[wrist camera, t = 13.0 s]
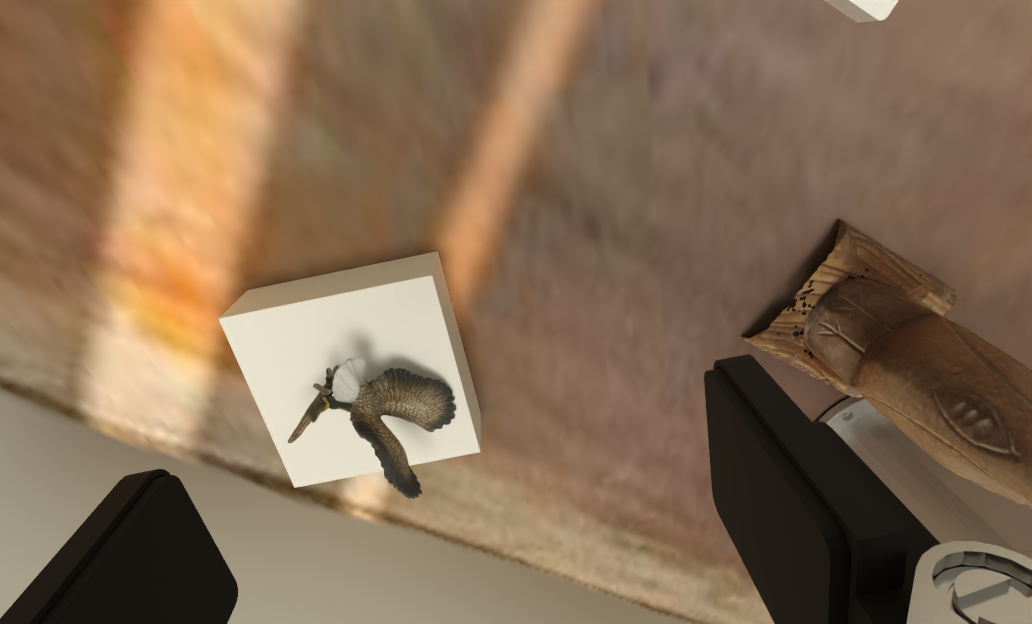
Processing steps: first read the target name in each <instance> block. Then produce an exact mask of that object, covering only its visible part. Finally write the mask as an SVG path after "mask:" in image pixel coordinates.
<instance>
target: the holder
mask: <svg viewBox="0 0 1032 624" xmlns="http://www.w3.org/2000/svg"><path fill="white" fill-rule="evenodd" d="M824 1H825V2H827V3H828V4H830V5H831V6H833V7H834V8H836V9H837V10H839V11H840V12H842V13H843V14H845V15H846V16H848V17H849V18H851V19H852V20H854V21H855V22H858V23H860V22H871V21H881V20H884V19H886V18H887V17H888V15H889V14H890V12H891V11H892V9H893V8H894V6H895V5H896V4H897V2H898V1H899V0H824Z"/></svg>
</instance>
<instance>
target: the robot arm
mask: <svg viewBox="0 0 1032 624" xmlns="http://www.w3.org/2000/svg"><path fill="white" fill-rule="evenodd" d="M704 383H705V397H706V410H707V424H708V438H709V452H710V466H711V480H712V492H713V498H714V502H715V506H716V509H717V511H718V514H719V516H720V518H721V520H722V522H723V524H724V526H725V527H726V529H727V531H728V533H729V535H730V537H731V539H732V541H733V543H734V545H735V547H736V549H737V551H738V553H739V555H740V557H741V559H742V561H743V563H744V565H745V566H746V568H747V570H748V572H749V574H750V576H751V578H752V580H753V582H754V584H755V586H756V588H757V590H758V592H759V594H760V596H761V598H762V600H763V602H764V604H765V605H766V607H767V609H768V611H769V613H770V615H771V617H772V619H773V621H774V623H775V624H1032V509H1031V508H1030V507H1029V506H1027V505H1026V504H1018V503H1016V502H1014V501H1013V500H1011V499H1008V498H1006V497H1003V496H1001V495H999V494H997V493H994V492H991V491H989V490H987V489H985V488H983V487H982V486H980V485H978V484H976V483H974V482H973V481H971V480H968V479H966V478H964V477H961V476H959V475H957V474H955V473H954V472H952V471H951V470H949V469H947V468H945V467H944V466H943V465H942V464H940V463H939V462H938V461H936V460H935V459H933V458H932V457H931V456H930V455H929V454H928V453H926V452H925V451H923V450H922V449H921V448H920V447H919V446H918V445H917V444H916V443H915V442H914V441H912V440H911V439H910V438H909V437H908V436H906V434H904V433H903V432H902V431H901V430H900V429H899V428H898V427H897V426H896V425H895V424H893V423H892V422H891V421H890V420H889V419H888V418H886V417H885V416H884V415H882V414H881V413H880V412H879V411H878V410H877V409H876V408H875V407H874V406H873V405H872V404H870V403H869V402H868V401H867V400H866V399H865V398H864V397H859V398H856V397H850V398H848V399H846V400H844V401H842V402H840V403H839V404H837V405H836V406H835V407H833V408H832V409H830V410H829V411H828V412H827V413H826V414H825V415H823V416H822V417H821V418H820V419H819V420H818V421H815V422H811V421H810V420H809V419H808V417H807V416H806V415H805V414H804V413H803V412H802V411H801V410H800V408H799V407H798V406H797V405H796V404H795V403H794V402H793V401H792V400H791V398H790V397H789V396H788V395H787V394H786V393H785V392H784V391H783V390H782V388H781V387H780V386H779V385H778V384H777V383H776V382H775V381H774V380H773V378H772V377H771V376H770V375H769V374H768V373H767V372H766V371H765V370H764V368H763V367H762V366H761V365H760V364H759V363H758V362H757V361H756V360H755V358H754V357H752V356H751V355H748V354H747V355H742V356H737V357H731V358H726V359H721V360H716V361H715V363H714V370H709V371H706V372H705V375H704ZM237 597H238V588H237V583H236V580H235V578H234V577H233V575H232V573H231V571H230V569H229V567H228V566H227V564H226V562H225V560H224V559H223V557H222V555H221V553H220V551H219V549H218V548H217V546H216V544H215V542H214V540H213V539H212V537H211V535H210V533H209V531H208V530H207V528H206V526H205V524H204V522H203V520H202V518H201V517H200V515H199V513H198V511H197V509H196V508H195V506H194V504H193V502H192V500H191V499H190V497H189V495H188V493H187V491H186V490H185V488H184V486H183V484H182V482H181V481H180V479H179V478H178V477H176V476H174V475H170V474H169V472H167V471H166V470H163V469H157V470H152V471H147V472H142V473H136V474H131V475H128V476H125V477H124V478H123V479H122V480H120V481H119V482H118V484H117V485H116V486H115V487H114V488H113V489H112V490H111V492H110V493H109V494H108V495H107V496H106V497H105V498H104V500H103V501H102V502H101V503H100V504H99V505H98V507H97V508H96V509H95V510H94V511H93V512H92V513H91V515H90V516H89V517H88V518H87V519H86V520H85V522H84V523H83V524H82V525H81V526H80V527H79V528H78V530H77V531H76V532H75V533H74V534H73V536H72V537H71V538H70V539H69V540H68V541H67V542H66V544H65V545H64V546H63V547H62V548H61V549H60V550H59V551H58V553H57V554H56V555H55V556H54V557H53V558H52V560H51V561H50V562H49V563H48V564H47V566H46V567H45V568H44V569H43V570H42V571H41V572H40V573H39V575H38V576H37V577H36V578H35V579H34V580H33V582H32V583H31V584H30V585H29V586H28V587H27V588H26V590H25V591H24V592H23V593H22V594H21V595H20V597H19V598H18V599H17V600H16V601H15V602H14V603H13V605H12V606H11V607H10V608H9V609H8V610H7V612H6V613H5V614H4V615H3V616H2V617H1V618H0V624H227V622H228V620H229V618H230V616H231V614H232V611H233V609H234V607H235V605H236V602H237Z"/></svg>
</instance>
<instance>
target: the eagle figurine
mask: <svg viewBox="0 0 1032 624" xmlns="http://www.w3.org/2000/svg"><path fill="white" fill-rule="evenodd" d="M326 374H327V376H326V384H325V385H324V386H321V385H320V384H317V383H315V384H314V385H313V387H314V388H315V389H317V390H318V391H319V393H318V395H317V396H316V398H315V399H314V401H313V402H312V403H311V404H310V406H309V407H308V409H307V410H306V412H305V414H304V415H303V417H302V419H301V421H300V422H299V424H298V426H297V427H296V429H295V430H294V431H293V433H292V435H291V436H290V438H289V440H288V443H293V442H294V441H295V440H296V439H297V438H298V437H300V436H301V434H302V433H303V432H304V430H305V429H306V427H307V426H308V425H309V424H310V423H311V422H313V423H314V422H315V421H316V420H317V419H318V417H319V415H320V413H322V412H324V411H325V410H327V409H328V408H330V409H335V410H336V409H341V410H345V411H347V412H349V413H351V414H350V416H351V417H350V421H351V422H353V423H352V425H353V427H354V429H355V431H356V432H357V433H358V435H359V437H360V438H362V439H366V441H368V442H370V443H371V446H372V447H373V448H374V450H375V455H376V456H377V457H378V459H379V460H380V462H381V467H382V468H383V469H384V476H385V478H386V479H387V480H388V482H389V483H390V484H393V486H394V488H397V490H398V491H399V492H401V493H402V494H403V495H405V496H406V497H407V498H409V499H410V498H413V499H414V498H415V497H417V498H418V497H419V495H418V494H422V491H421V489H420V484H419V482H418V481H417V480H416V479H417V477H416V475H415V474H414V473H413V471H412V470H411V468H410V467H409V464H408V459H407V455H406V452H405V450H404V448H403V446H402V445H401V443H400V442H399V440H398V439H397V438H396V436H395V435H394V434H393V433H392V431H391V430H390V429H389V428H388V427H387V426H386V424H385V423H384V422H383V421H382V419H381V416H382V415H388V416H393V417H398V418H401V419H404V420H406V421H408V422H411V423H415V424H416V425H418V426H420V427H421V428H423V429H424V430H426V431H428V432H434V430H435V429H442V427H443V425H449V424H450V423H451V420H452V419H454V418H455V414H454V411H456V406H455V404H453V403H452V402H453V401H454V400H455V397H453V396H452V394H453V392H452V390H451V389H450V388H449V387H448V386H446V384H445V383H443V382H441V381H440V380H435V381H434V380H433V379H431V378H429V377H426V378H423V376H419V375H417V374H412V373H411V371H407V370H406V369H405V368H404V369H401V368H397V369H394V368H389V370H385V371H384V373H383V374H382V375H379V376H378V377H377V379H376V380H374V379H373V380H371V381H370V382H369V383H368V382H367V377H366V361H365V359H363V358H354V359H351V358H350V359H347V360H346V361H345V362H344V363H343V364H341V365H340V366H339V367H338V365H337V366H335V367H334V369H333V372H332V371H331V369H330V368H327V369H326ZM332 394H333V396H332Z"/></svg>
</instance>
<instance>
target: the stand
mask: <svg viewBox="0 0 1032 624" xmlns="http://www.w3.org/2000/svg"><path fill="white" fill-rule="evenodd" d="M219 321H220V323H221V326H222V328H223V330H224V332H225V334H226V337H227V339H228V341H229V343H230V345H231V348H232V350H233V352H234V354H235V357H236V359H237V361H238V363H239V365H240V368H241V370H242V372H243V374H244V377H245V379H246V381H247V383H248V385H249V388H250V390H251V392H252V394H253V397H254V399H255V401H256V403H257V405H258V408H259V410H260V412H261V414H262V416H263V419H264V421H265V423H266V425H267V428H268V430H269V432H270V434H271V436H272V439H273V441H274V443H275V445H276V448H277V450H278V452H279V454H280V456H281V459H282V461H283V463H284V465H285V467H286V470H287V472H288V474H289V476H290V479H291V481H292V483H293V485H294V487H295V488H296V487H301V486H306V485H311V484H316V483H322V482H327V481H332V480H337V479H342V478H348V477H353V476H358V475H363V474H369V473H374V472H379V471H384V469H383V468H382V467H381V462H380V460H379V459H378V457H377V456H376V455H375V450H374V448H373V447H372V446H371V443H370V442H368V441H366V439H362V438H360V437H359V435H358V433H357V432H356V431H355V429H354V427H353V425H352V423H353V422H351V421H350V417H351V416H350V414H351V413H349V412H347V411H345V410H341V409H336V410H335V409H330V408H328V409H327V410H325V411H324V412H322V413H320V415H319V417H318V419H317V420H316V421H315V422H314V423H313V422H311V423H310V424H309V425H308V426H307V427H306V429H305V430H304V432H303V433H302V434H301V436H300V437H298V438H297V439H296V440H295V441H294V442H293V443H288V440H289V438H290V436H291V435H292V433H293V431H294V430H295V429H296V427H297V426H298V424H299V422H300V421H301V419H302V417H303V415H304V414H305V412H306V410H307V409H308V407H309V406H310V404H311V403H312V402H313V401H314V399H315V398H316V396H317V395H318V393H319V391H318V390H317V389H315V388H314V387H313V385H314V384H315V383H317V384H320V385H321V386H324V385H325V384H326V376H327V374H326V369H327V368H330V369H331V371H332V372H333V369H334V367H335V366H337V365H338V367H339V366H340V365H341V364H343V363H344V362H345V361H346V360H347V359H350V358H351V359H354V358H363V359H365V361H366V377H367V382H368V383H369V382H370V381H371V380H373V379H374V380H376V379H377V377H378V376H379V375H382V374H383V373H384V371H385V370H389V368H394V369H397V368H401V369H404V368H405V369H406V370H407V371H411V373H412V374H417V375H419V376H423V378H426V377H429V378H431V379H433V380H434V381H435V380H440V381H441V382H443V383H445V384H446V386H448V387H449V388H450V389H451V390H452V392H453V394H452V396H453V397H455V400H454V401H453V402H452V403H453V404H455V406H456V411H454V414H455V418H454V419H452V420H451V423H450V424H449V425H443V427H442V429H435V430H434V432H428V431H426V430H424V429H423V428H421V427H420V426H418V425H416V424H415V423H411V422H408V421H406V420H404V419H401V418H398V417H393V416H388V415H382V416H381V419H382V421H383V422H384V423H385V424H386V426H387V427H388V428H389V429H390V430H391V431H392V433H393V434H394V435H395V436H396V438H397V439H398V440H399V442H400V443H401V445H402V446H403V448H404V450H405V452H406V455H407V459H408V464H409V466H410V465H415V464H421V463H426V462H431V461H436V460H441V459H447V458H452V457H457V456H462V455H467V454H473V453H478V452H480V440H481V412H480V408H479V405H478V401H477V397H476V393H475V389H474V386H473V382H472V378H471V374H470V371H469V367H468V363H467V359H466V355H465V352H464V348H463V344H462V340H461V336H460V333H459V329H458V325H457V321H456V317H455V314H454V310H453V306H452V302H451V299H450V295H449V291H448V287H447V283H446V280H445V276H444V272H443V268H442V264H441V261H440V257H439V253H438V251H436V252H431V253H426V254H421V255H416V256H412V257H407V258H402V259H397V260H392V261H387V262H382V263H377V264H372V265H368V266H363V267H358V268H353V269H348V270H343V271H338V272H333V273H328V274H324V275H319V276H314V277H309V278H304V279H299V280H294V281H289V282H284V283H280V284H275V285H270V286H265V287H260V288H255V289H250V290H247V291H246V292H245V293H244V294H243V295H242V296H241V297H240V298H239V299H238V300H237V301H236V302H235V303H234V304H233V305H232V306H231V307H230V308H229V309H228V310H227V311H226V312H225V313H224V314H223V315H222V316H221V317H220V318H219ZM332 396H333V394H332Z"/></svg>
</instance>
